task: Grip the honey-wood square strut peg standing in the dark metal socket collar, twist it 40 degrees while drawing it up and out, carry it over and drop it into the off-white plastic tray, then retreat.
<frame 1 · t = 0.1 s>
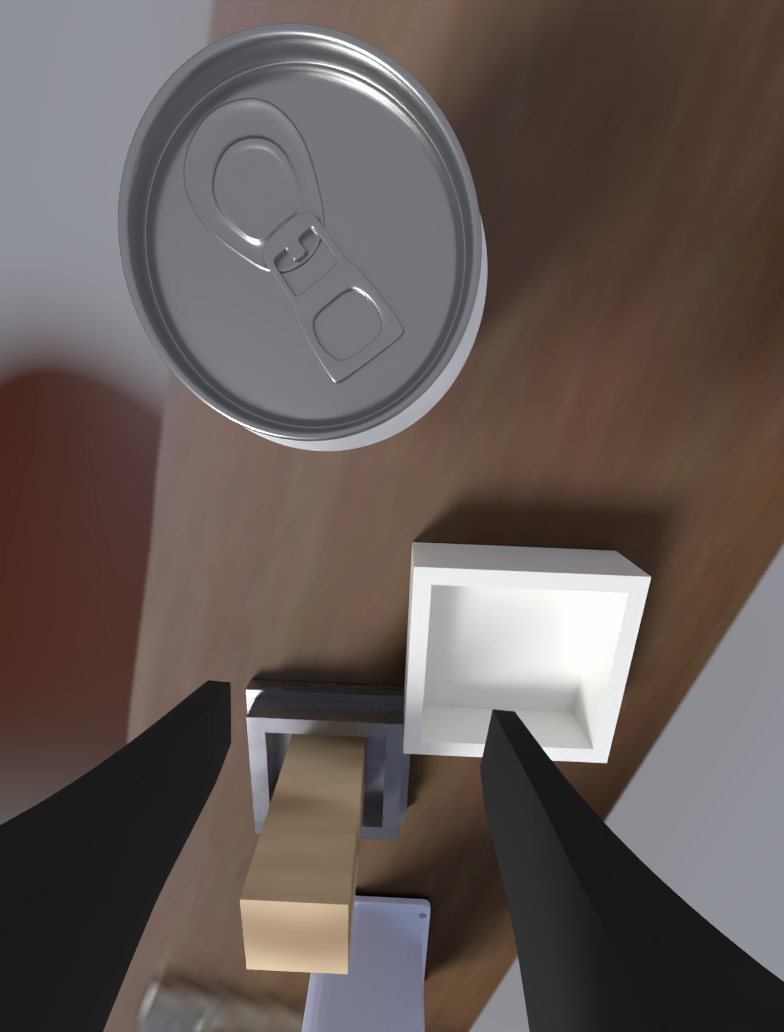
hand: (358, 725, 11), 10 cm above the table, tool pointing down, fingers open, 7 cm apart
strut peg: (330, 759, 23), point 1 cm above the table, touching stud socket
bin tray: (502, 635, 22), on the table
stud socket: (332, 747, 24), on the table
can: (365, 344, 18), on the table
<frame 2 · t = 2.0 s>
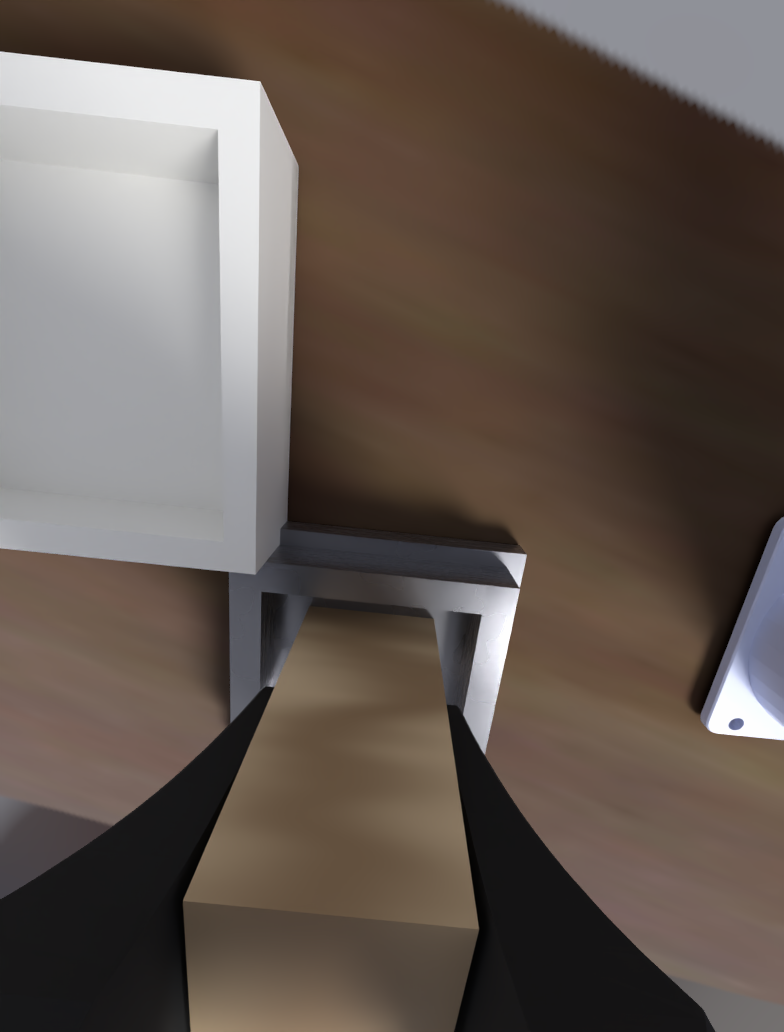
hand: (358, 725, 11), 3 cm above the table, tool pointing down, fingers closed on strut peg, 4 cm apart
strut peg: (366, 665, 14), point 1 cm above the table, touching gripper, stud socket
bin tray: (118, 354, 12), on the table
stud socket: (368, 651, 15), on the table
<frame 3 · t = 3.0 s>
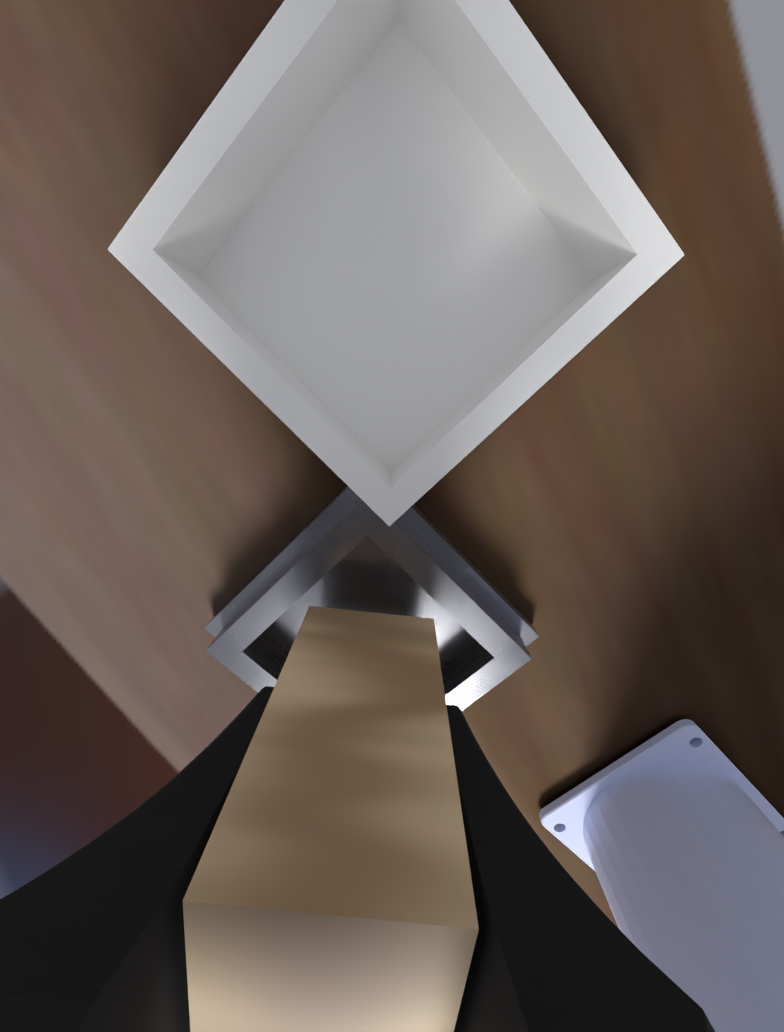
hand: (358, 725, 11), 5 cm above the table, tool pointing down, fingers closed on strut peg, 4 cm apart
strut peg: (366, 665, 14), point 3 cm above the table, touching gripper
bin tray: (394, 283, 13), on the table
stud socket: (371, 621, 16), on the table
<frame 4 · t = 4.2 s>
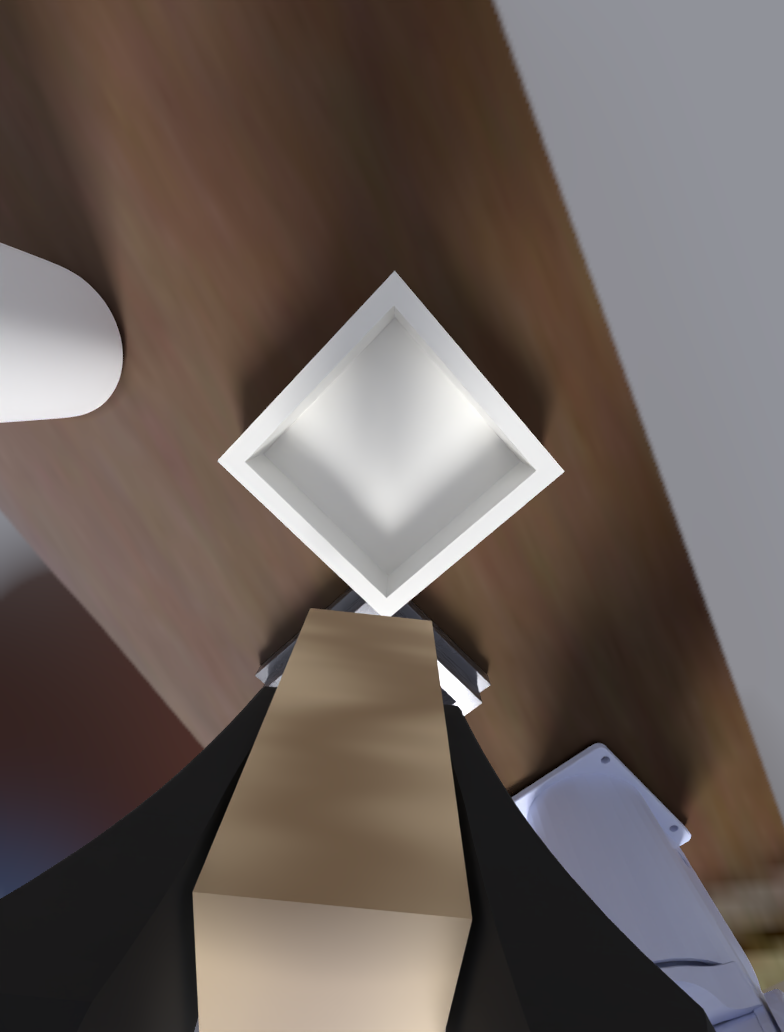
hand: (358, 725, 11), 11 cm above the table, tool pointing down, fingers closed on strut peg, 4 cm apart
strut peg: (365, 666, 14), point 8 cm above the table, touching gripper
bin tray: (391, 455, 20), on the table
stud socket: (373, 670, 23), on the table
can: (61, 344, 19), on the table
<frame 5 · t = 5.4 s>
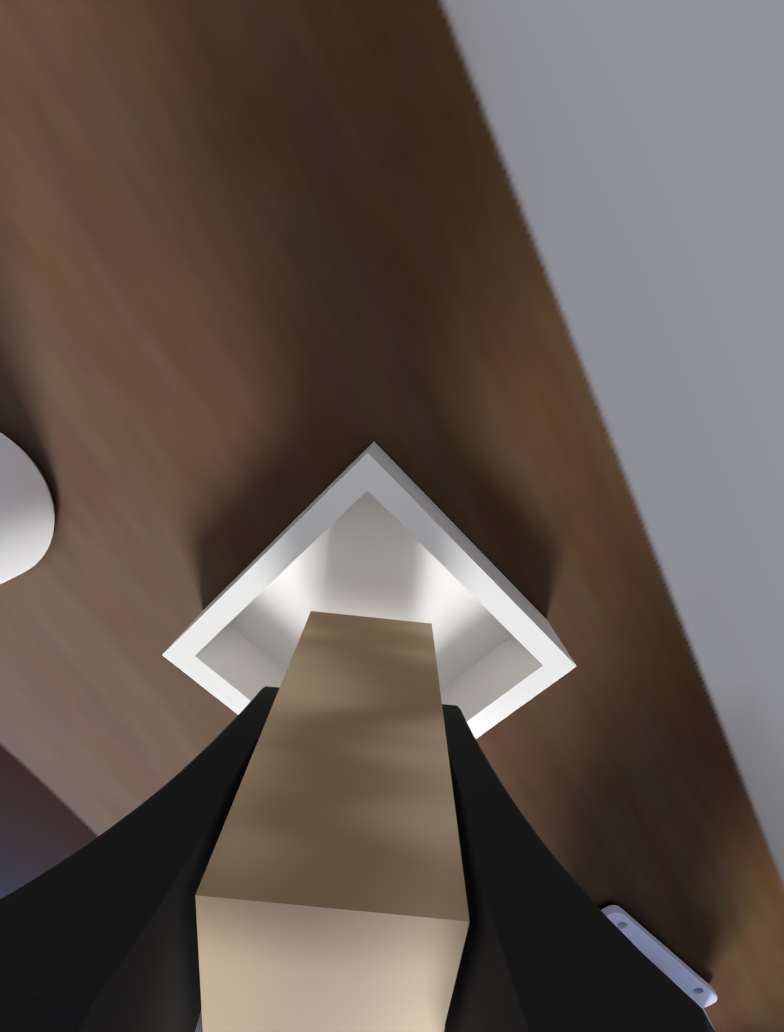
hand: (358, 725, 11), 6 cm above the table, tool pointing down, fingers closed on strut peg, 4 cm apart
strut peg: (366, 668, 14), point 3 cm above the table, touching gripper
bin tray: (373, 615, 17), on the table
when the fingers open (5 cm above the table, at t = 6.5 s): strut peg drops 1 cm, resting on bin tray.
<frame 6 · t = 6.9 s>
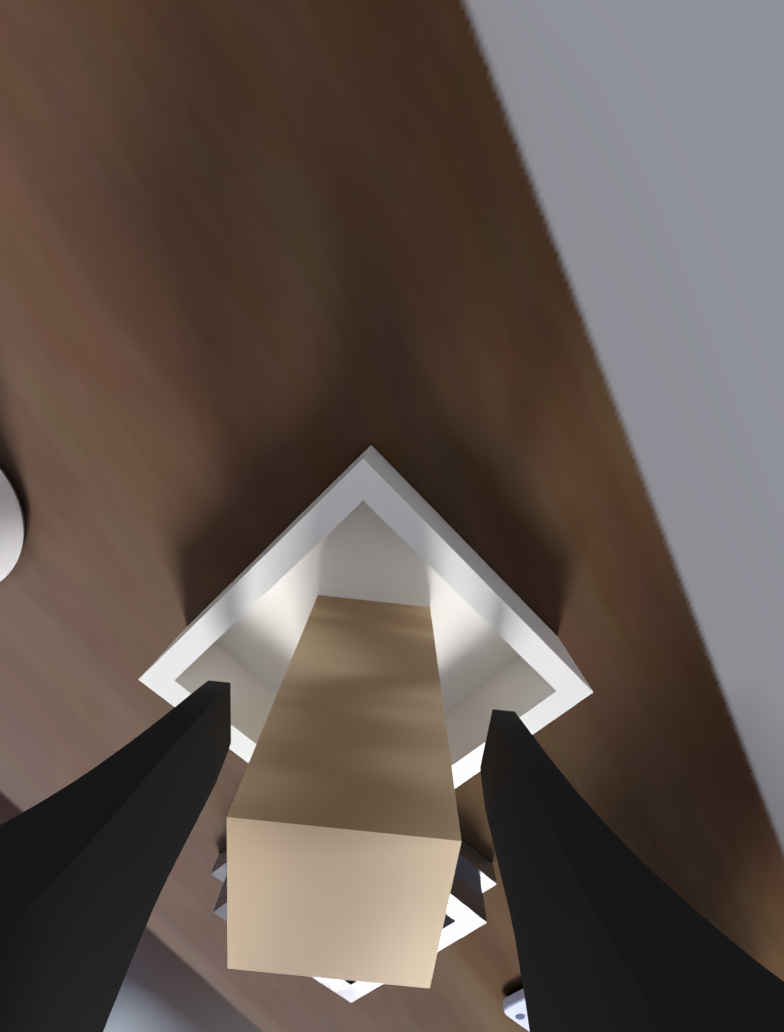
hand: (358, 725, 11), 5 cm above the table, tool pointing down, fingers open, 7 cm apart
strut peg: (368, 649, 15), point 1 cm above the table, touching bin tray
bin tray: (370, 632, 16), on the table
stud socket: (355, 859, 19), on the table
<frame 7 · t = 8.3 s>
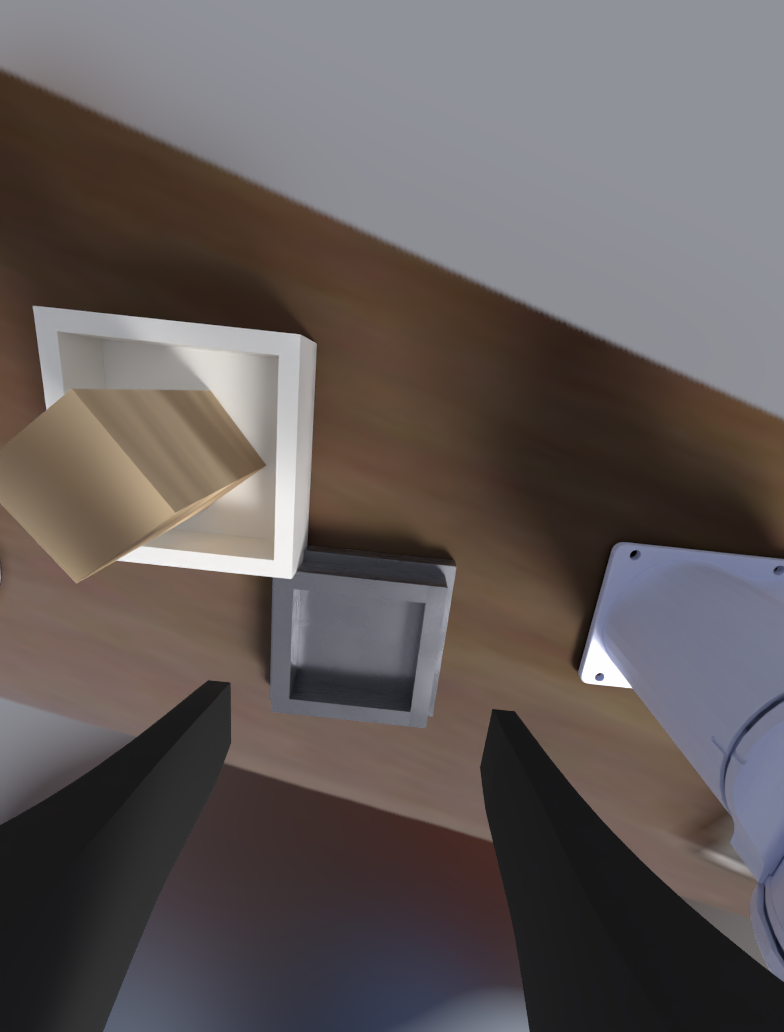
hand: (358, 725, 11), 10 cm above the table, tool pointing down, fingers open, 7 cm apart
strut peg: (206, 453, 19), point 1 cm above the table, touching bin tray
bin tray: (207, 445, 20), on the table
stud socket: (359, 628, 22), on the table
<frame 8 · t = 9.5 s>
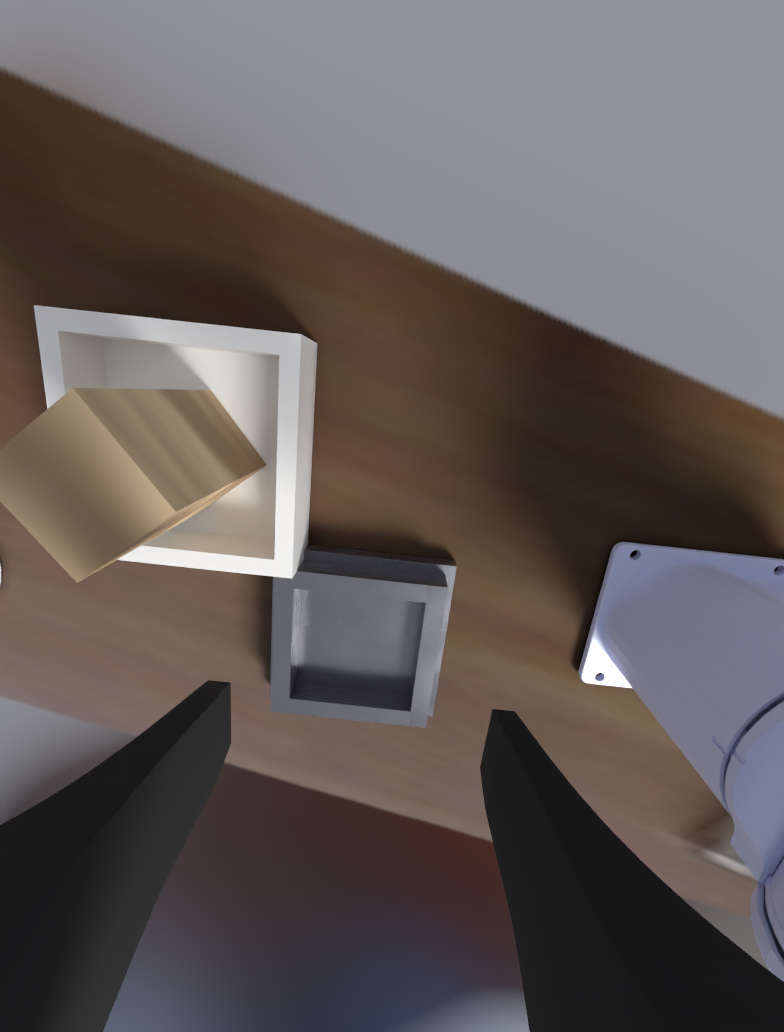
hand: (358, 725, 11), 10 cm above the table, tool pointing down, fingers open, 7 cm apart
strut peg: (206, 452, 19), point 1 cm above the table, touching bin tray
bin tray: (207, 444, 20), on the table
stud socket: (359, 628, 22), on the table
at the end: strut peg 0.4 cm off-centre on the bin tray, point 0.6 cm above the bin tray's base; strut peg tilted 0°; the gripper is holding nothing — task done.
